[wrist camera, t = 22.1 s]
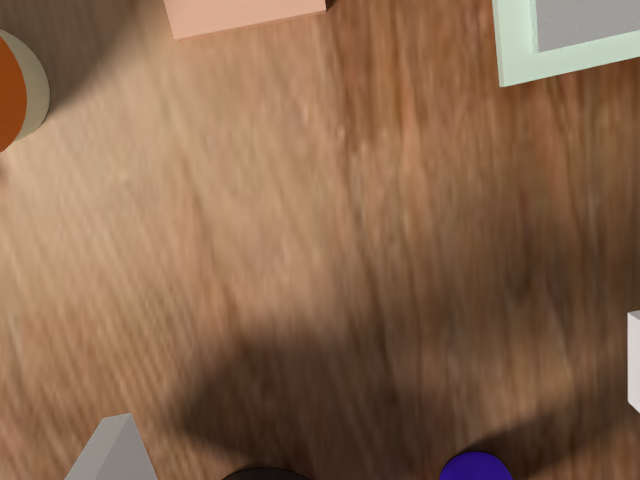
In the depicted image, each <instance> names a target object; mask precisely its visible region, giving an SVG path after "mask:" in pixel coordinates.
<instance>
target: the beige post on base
mask: <svg viewBox="0 0 640 480" xmlns="http://www.w3.org/2000/svg"><path fill="white" fill-rule="evenodd" d="M530 17H531V33H532V49H533V54H535V53H541V52H545V51H549V50H554V49H558V48H563V47H567V46H571V45H576V44H580V43H585V42H589V41H593V40H598V39H602V38H607V37H611V36H615V35H620V34H624V33H628V32H633V31H637V30H640V0H530Z"/></svg>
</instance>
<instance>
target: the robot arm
mask: <svg viewBox="0 0 640 480" xmlns="http://www.w3.org/2000/svg"><path fill="white" fill-rule="evenodd" d="M628 402H629V403H630V404H631V405H632V406H633V407H634V408H635V409H636V410H637V411H638V412H639V413H640V310H638V311H633V312H629V313H628ZM64 480H158V479H157V476H156V474H155V471H154V469H153V466H152V464H151V461H150V459H149V456H148V454H147V451H146V449H145V446H144V444H143V441H142V439H141V436H140V434H139V431H138V429H137V427H136V424H135V422H134V419H133V417H132V414H131V413H127V414H122V415H117V416H112V417H107V418H103V419H102V420H101V422H100V424H99V425H98V427H97V428H96V430H95V432H94V433H93V435H92V436H91V438H90V440H89V441H88V443H87V444H86V446H85V448H84V449H83V451H82V452H81V454H80V456H79V457H78V459H77V460H76V462H75V464H74V465H73V467H72V468H71V470H70V471H69V473H68V475H67V476H66V478H65V479H64ZM224 480H307V479H306V478H304V477H302V476H300V475H298V474H295V473H292V472H289V471H285V470H281V469H273V468H258V469H251V470H246V471H242V472H239V473H236V474H234V475H231V476H229V477H228V478H226V479H224Z"/></svg>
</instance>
